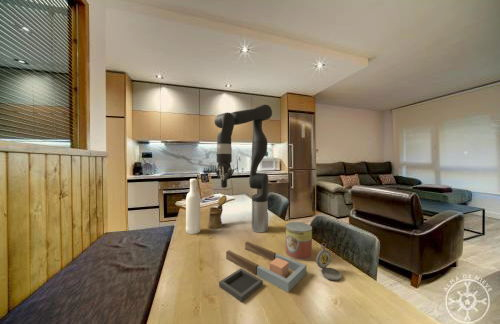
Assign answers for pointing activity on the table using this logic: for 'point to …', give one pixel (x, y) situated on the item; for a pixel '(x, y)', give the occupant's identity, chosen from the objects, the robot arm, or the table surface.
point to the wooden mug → (216, 214)
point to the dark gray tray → (241, 284)
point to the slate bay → (281, 281)
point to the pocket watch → (327, 272)
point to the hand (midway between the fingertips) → (224, 187)
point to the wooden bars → (247, 263)
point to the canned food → (298, 240)
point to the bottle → (193, 209)
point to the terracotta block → (279, 267)
